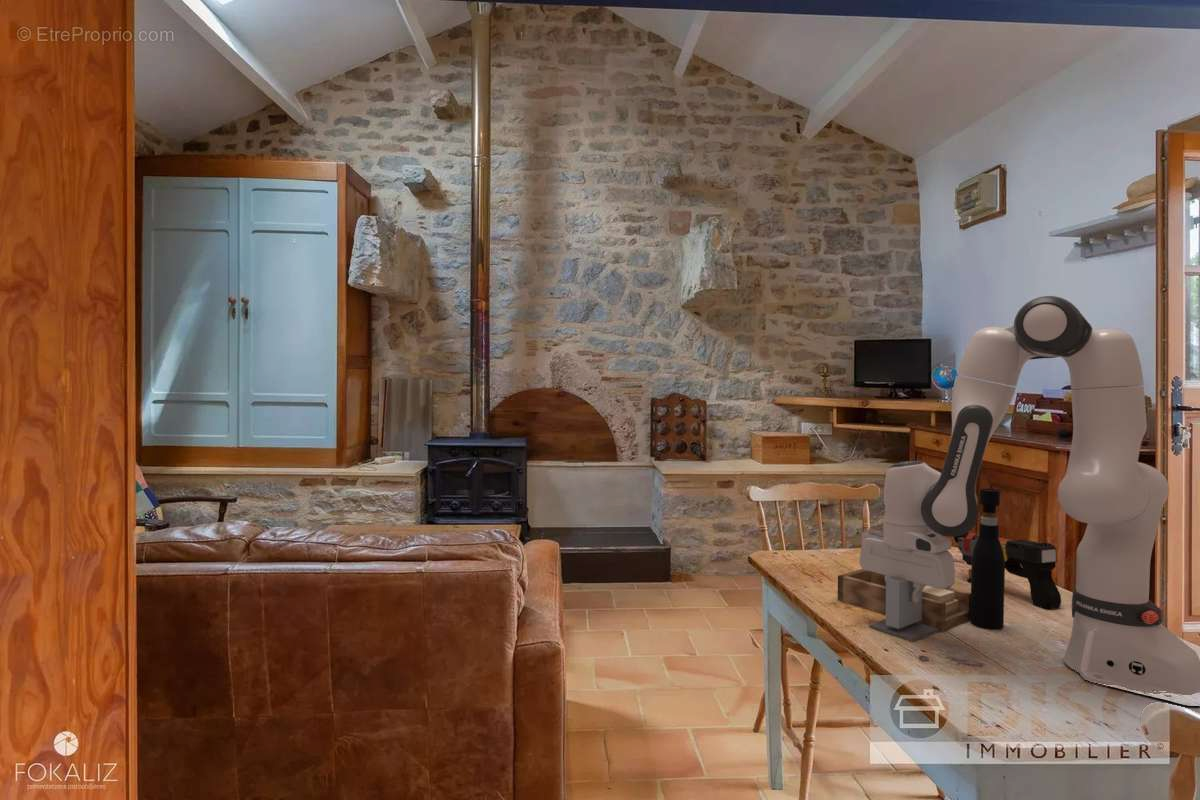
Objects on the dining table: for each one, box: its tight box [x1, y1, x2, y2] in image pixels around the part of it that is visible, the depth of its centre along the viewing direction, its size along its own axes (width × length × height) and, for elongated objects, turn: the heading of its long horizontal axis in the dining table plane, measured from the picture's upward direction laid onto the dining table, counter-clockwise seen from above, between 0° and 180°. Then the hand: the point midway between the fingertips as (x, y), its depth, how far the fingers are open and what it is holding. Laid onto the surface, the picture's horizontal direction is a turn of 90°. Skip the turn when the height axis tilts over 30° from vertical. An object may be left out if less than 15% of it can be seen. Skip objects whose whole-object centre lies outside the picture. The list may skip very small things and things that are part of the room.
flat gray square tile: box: [868, 618, 939, 642], centre depth 151 cm, size 10×10×1 cm
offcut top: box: [922, 586, 955, 603], centre depth 158 cm, size 6×6×2 cm
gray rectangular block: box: [885, 577, 922, 629], centre depth 151 cm, size 3×9×10 cm, turn 126°
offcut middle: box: [945, 599, 958, 616], centre depth 158 cm, size 7×7×2 cm
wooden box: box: [837, 568, 971, 632], centre depth 164 cm, size 26×13×6 cm, turn 36°
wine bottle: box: [969, 488, 1006, 631], centre depth 154 cm, size 6×6×30 cm
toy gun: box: [953, 532, 1062, 610], centre depth 178 cm, size 6×28×15 cm, turn 18°
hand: (904, 599), depth 151 cm, fingers closed on gray rectangular block, 3 cm apart
